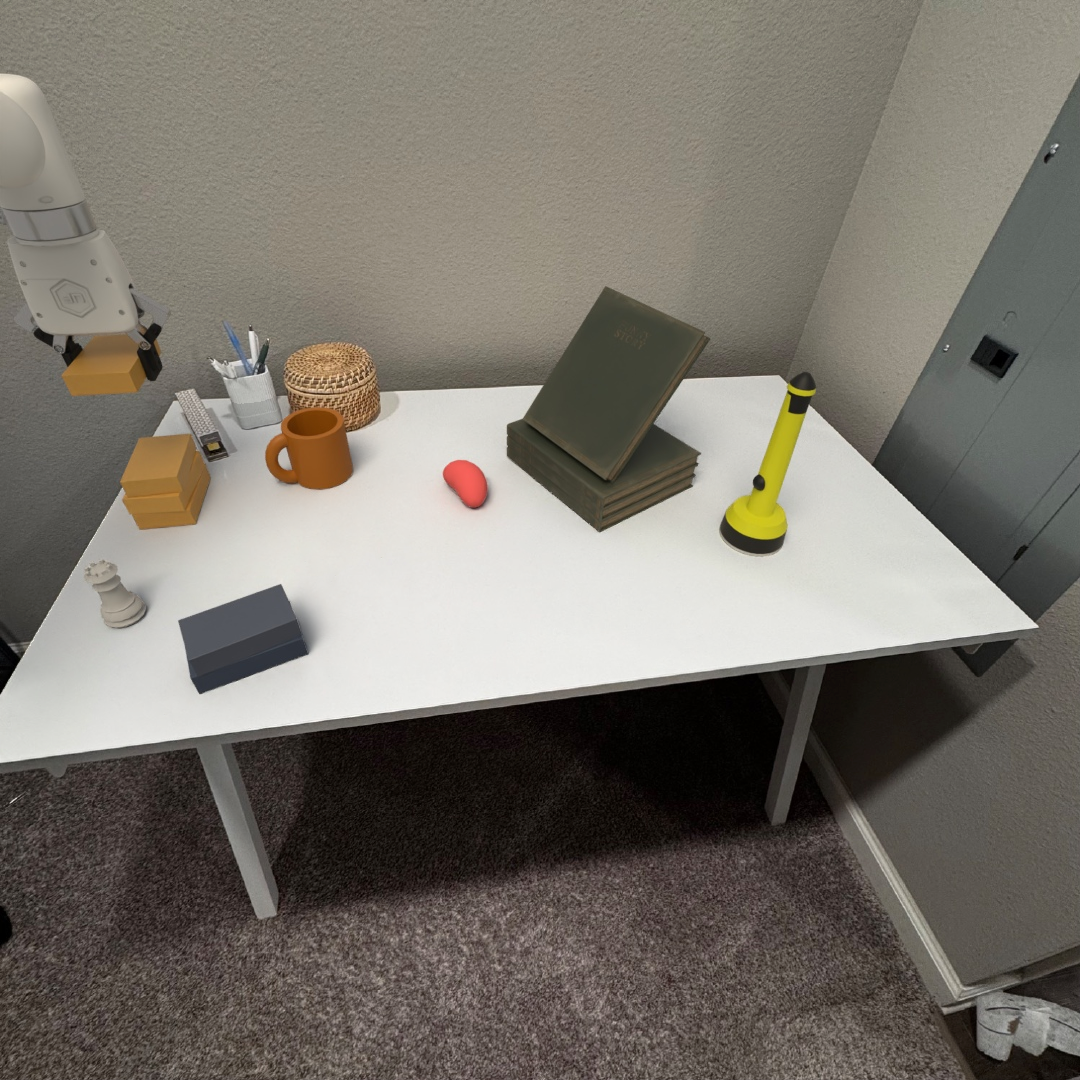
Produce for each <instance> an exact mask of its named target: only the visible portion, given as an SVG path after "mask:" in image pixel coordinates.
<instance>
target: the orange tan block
mask: <svg viewBox="0 0 1080 1080" xmlns="http://www.w3.org/2000/svg"><path fill="white" fill-rule="evenodd" d="M157 339H158V338H157ZM157 339H156V340H155V341H154V344H155V347H156V349H157V352H158V355H159V357H160V356H161V354H162V350H161V347H160V344H159V342H158V340H157ZM138 349H139V346H138V345H137V344H136V343H135V342H134V341H133V340H132V339H131V338H130V337H129V336H128V335H127V334H126V333H122V334H97V335H93V336H92V337H91V339H89V341H88V342H87V343H86V345H85V346H84V347H83V350H82V351H81V352H80V354H79V355H78V356H77V357H76V358H75V360H74V361H73V362H72V363H71V364H70V366H69V367H66V369H65V371H64V372H63V373H62V374H61V378H62V380H63V382H64V383H65V385H66V387H67V389H68V392H69V393H70V396H71V397H77V396H97V395H99V396H100V395H113V394H116V395H117V394H130V393H131V394H133V393H134V394H135V393H136V394H137V393H139V391H140V390H141V387H142V386H143V384H144V382H145V381H146V379H147V376H146V374H145V371H144V369H143V366H142V364H141V361H140V359H139V357H138V355H137V350H138Z"/></svg>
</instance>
